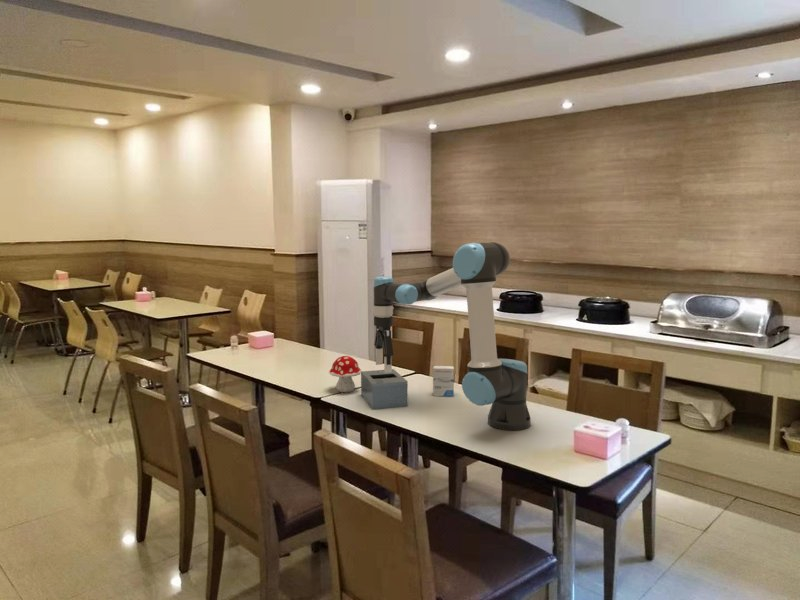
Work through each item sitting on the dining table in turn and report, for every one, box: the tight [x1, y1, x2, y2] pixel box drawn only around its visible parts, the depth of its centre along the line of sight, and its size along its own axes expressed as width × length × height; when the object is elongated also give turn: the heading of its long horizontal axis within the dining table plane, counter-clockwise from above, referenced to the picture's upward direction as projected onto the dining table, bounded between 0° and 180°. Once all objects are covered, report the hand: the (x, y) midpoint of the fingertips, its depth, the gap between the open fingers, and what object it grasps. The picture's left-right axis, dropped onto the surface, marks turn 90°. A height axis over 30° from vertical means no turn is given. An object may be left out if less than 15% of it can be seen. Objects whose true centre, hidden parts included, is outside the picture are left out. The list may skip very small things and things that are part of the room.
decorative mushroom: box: [328, 355, 362, 393], centre depth 251 cm, size 14×14×15 cm
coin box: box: [360, 368, 409, 410], centre depth 238 cm, size 20×14×10 cm
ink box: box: [432, 365, 455, 397], centre depth 246 cm, size 8×5×12 cm, turn 84°
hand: (383, 368), depth 237 cm, fingers open, 13 cm apart
